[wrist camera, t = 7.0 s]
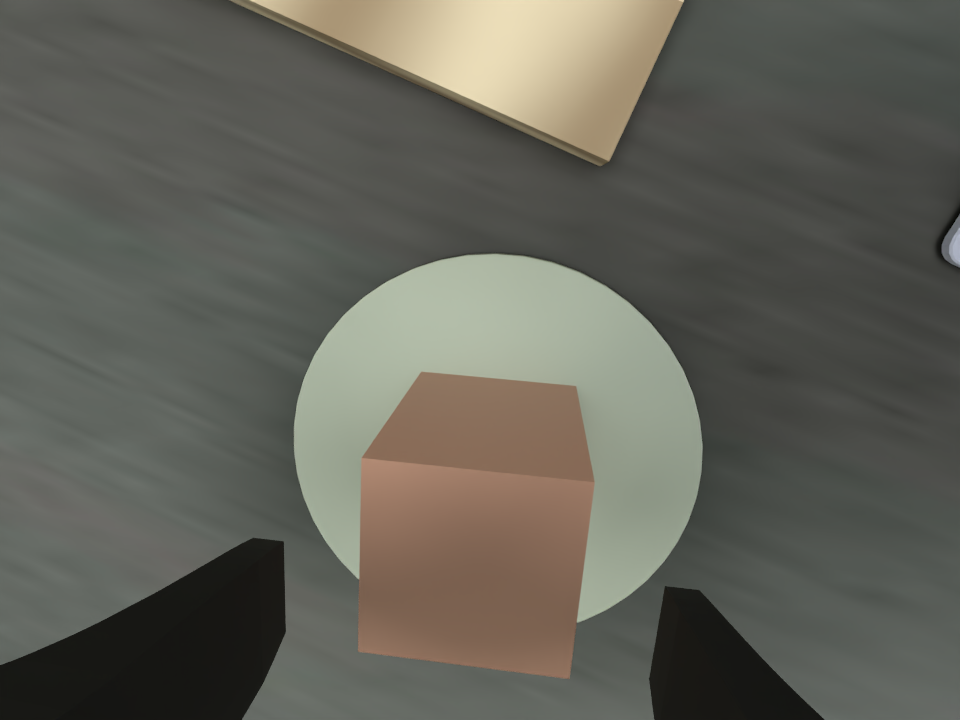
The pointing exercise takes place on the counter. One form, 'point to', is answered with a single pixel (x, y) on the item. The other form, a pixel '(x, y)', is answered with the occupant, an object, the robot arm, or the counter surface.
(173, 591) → the robot arm
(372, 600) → the terracotta block
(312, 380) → the sage coaster
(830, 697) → the counter surface
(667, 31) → the maple pocket holder
